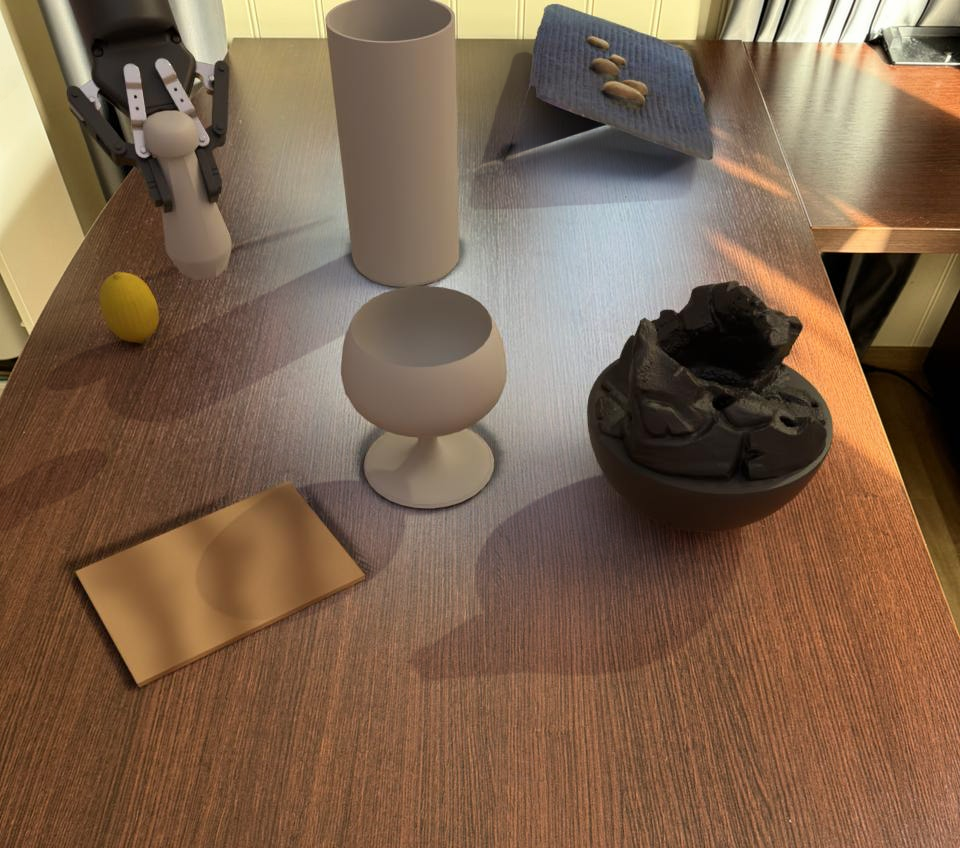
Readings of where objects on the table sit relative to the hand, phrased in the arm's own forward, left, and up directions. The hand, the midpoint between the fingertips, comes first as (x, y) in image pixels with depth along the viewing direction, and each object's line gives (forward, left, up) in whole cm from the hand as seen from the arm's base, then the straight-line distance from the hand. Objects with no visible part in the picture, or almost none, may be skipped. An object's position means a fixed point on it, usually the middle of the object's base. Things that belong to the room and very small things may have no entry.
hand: (191, 203), depth 78 cm
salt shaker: (0, +2, -7) cm, 7 cm away
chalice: (+10, -20, -20) cm, 30 cm away
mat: (+73, +31, -20) cm, 82 cm away
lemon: (-5, +14, -20) cm, 25 cm away
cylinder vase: (+27, +12, -20) cm, 36 cm away
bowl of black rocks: (+27, -37, -20) cm, 50 cm away
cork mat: (-12, -22, -20) cm, 32 cm away
